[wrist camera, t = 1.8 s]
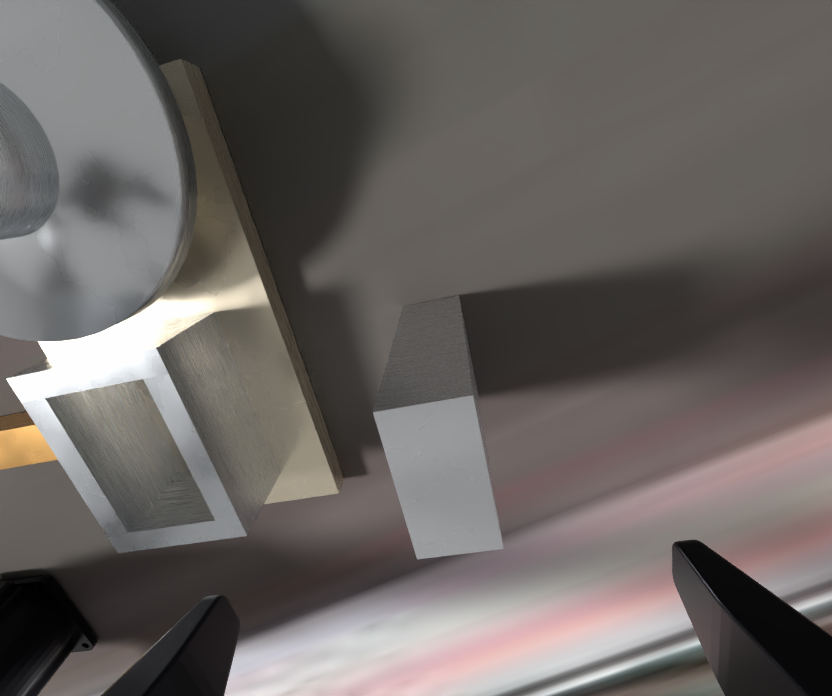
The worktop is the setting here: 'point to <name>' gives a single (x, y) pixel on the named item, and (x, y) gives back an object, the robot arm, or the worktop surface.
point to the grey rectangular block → (437, 434)
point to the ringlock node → (141, 291)
